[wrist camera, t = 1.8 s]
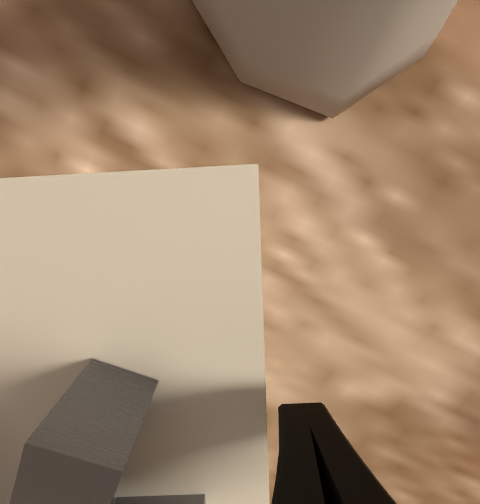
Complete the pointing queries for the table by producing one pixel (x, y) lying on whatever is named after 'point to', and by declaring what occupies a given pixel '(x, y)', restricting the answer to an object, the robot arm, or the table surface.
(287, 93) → the flask
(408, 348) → the table surface
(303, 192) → the table surface
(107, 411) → the block
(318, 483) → the robot arm
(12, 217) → the hearth board
